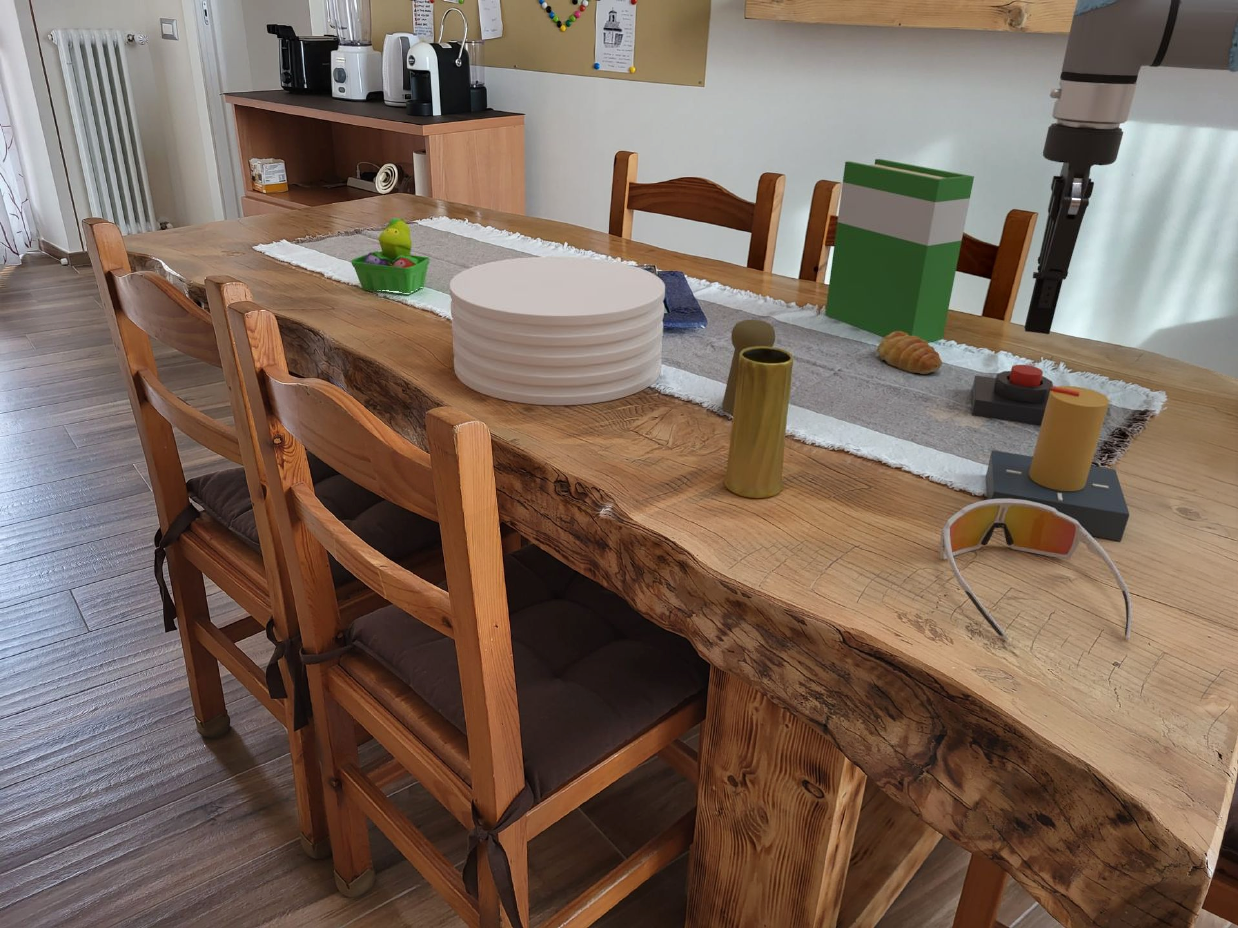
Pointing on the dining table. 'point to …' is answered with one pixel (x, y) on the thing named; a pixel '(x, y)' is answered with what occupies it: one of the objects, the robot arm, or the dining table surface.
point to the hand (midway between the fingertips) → (1036, 330)
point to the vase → (759, 422)
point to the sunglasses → (1020, 539)
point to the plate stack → (557, 329)
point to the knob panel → (1063, 494)
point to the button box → (1009, 399)
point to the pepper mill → (744, 337)
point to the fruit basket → (392, 263)
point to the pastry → (909, 353)
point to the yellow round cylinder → (1068, 438)
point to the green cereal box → (897, 247)
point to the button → (1025, 375)
